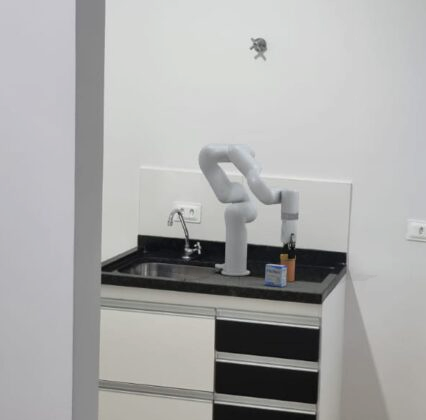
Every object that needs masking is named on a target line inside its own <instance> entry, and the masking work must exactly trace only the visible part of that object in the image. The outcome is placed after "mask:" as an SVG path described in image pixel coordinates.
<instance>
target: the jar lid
mask: <svg viewBox="0 0 426 420" xmlns="http://www.w3.org/2000/svg"><path fill="white" fill-rule="evenodd" d="M279 255H280V256H279V259H280V261H281V260H295V261H296V260H297V256H296V254H295V259H288V254H283V253H281V254H279Z"/></svg>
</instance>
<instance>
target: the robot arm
mask: <svg viewBox="0 0 426 420" xmlns="http://www.w3.org/2000/svg"><path fill="white" fill-rule="evenodd" d="M255 156H256V152H255V149H254V147H252V145H250V144H248V143H208V144H205V145H204V146H203V147H201V149H200V151H199V154H198V159H197V160H198V165H199V168H200V169H199V170H200V171H201V172H202V174H203V175H204V177H205V179H206V181H207V182H208V184H209V186H210V188H211V190H212V191H213V193H214V195H215V197H216V198H217V200H218V201H219V202H220V203H222V204H229V205H228V206H227V207H226V208H225V210H224V214H223V216H224V217H223V218H224V224H225V249H224V250H225V252H224V254H225V255H224V263H222V264H220V263H215V265H214V269H217V270H221V272H220V274H221V275H223V276H230V277H244V276H249V275H250V274H251V271H250V270H248V269H247V263H248V262H247V261H248V260H247V258H248V229H247V225H246V224H250V223H252V222H254V221H255V220H256V219H257V218H258V209H257V206H256V204H255V202H254V200H253V199H252V197H251V195H250V193H249V192H248V190H247V188H246V187H245V186H244V185H243V184H242V183H241V182H238V181H231V180H230V179H229V177H228V176H227V174H226V172H225V170H224V168H222V167H221V166H220V165H219V164H220V163H221V164H223V163H225V164H226V163H228V164H229V163H230V164H233V166H234V167H235V168H236V169H237V170H238V171H239V172H240V174H242V176H243V177H244V178H245V179H246V184H247V186H248V188H249V190H250V192H251V193H252V195H254V197H255V198H256V199H257V200H258V201H259V202H260V203H261V204H263V205H265V206H272V205H280V221H281V227H280V242H281V243H282V254H288V259H295V255H296V243H297V240H298V228H297V227H298V225H297V224H298V223H297V221H299V211H300V210H299V207H300V205H299V204H300V203H299V200H300V191H299V189H298V188H295V187H281V186H269V185H267V183H266V182H265V181H264V180H263V179H262V177H261V172H262V169H263V167H262V165H261V164H260V163H259V162H258V161H257V160H256V159H255ZM295 260H296V259H295Z"/></svg>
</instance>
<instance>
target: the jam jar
mask: <svg viewBox="0 0 426 420" xmlns="http://www.w3.org/2000/svg"><path fill="white" fill-rule="evenodd" d="M280 265H285V266H287V274H286V283H289V282H294V281H295V276H296V275H295V274H296V270H295V269H296V259H295V260H281V259H280Z"/></svg>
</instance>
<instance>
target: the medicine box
mask: <svg viewBox="0 0 426 420" xmlns="http://www.w3.org/2000/svg"><path fill="white" fill-rule="evenodd" d="M286 274H287V266H285V265H281V264H277V263H276V264H274V263H267V264H265V275H264V286H266V287H268V286H269V287H277V288H283V287H286V286H287V281H286Z"/></svg>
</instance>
